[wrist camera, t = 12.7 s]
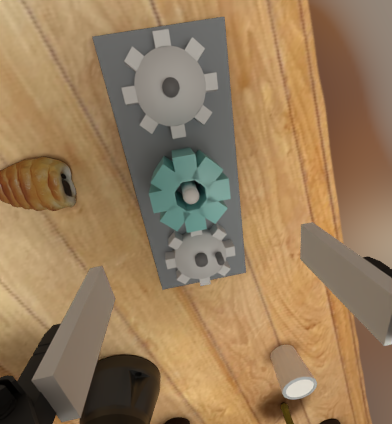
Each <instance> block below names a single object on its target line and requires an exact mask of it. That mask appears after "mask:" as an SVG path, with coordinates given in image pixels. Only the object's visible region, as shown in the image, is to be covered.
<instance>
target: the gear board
mask: <svg viewBox="0 0 392 424" xmlns="http://www.w3.org/2000/svg"><path fill="white" fill-rule="evenodd" d="M93 41H94V45H95V48H96V52H97V55H98V59H99V63H100V66H101V70H102V73H103V77H104V81H105V84H106V88H107V91H108V95H109V99H110V102H111V106H112V109H113V113H114V117H115V120H116V124H117V127H118V131H119V135H120V138H121V142H122V145H123V149H124V153H125V156H126V160H127V163H128V167H129V170H130V174H131V178H132V181H133V185H134V188H135V192H136V196H137V199H138V203H139V206H140V210H141V214H142V217H143V221H144V224H145V228H146V232H147V235H148V239H149V242H150V246H151V250H152V253H153V257H154V260H155V264H156V268H157V271H158V275H159V278H160V282H161V286H162V289H168V288H173V287H178V286H183V285H188V284H193V283H198V282H200V285H201V286H204V285H208V284H211V282H210V280H212V279H217V278H222V277H227V276H232V275H237V274H242V273H246V267H245V255H244V243H243V231H242V220H241V208H240V196H239V184H238V172H237V160H236V148H235V137H234V125H233V113H232V101H231V89H230V77H229V66H228V54H227V42H226V30H225V18H224V17H219V18H212V19H205V20H199V21H192V22H186V23H179V24H173V25H166V26H160V27H153V28H147V29H140V30H134V31H127V32H120V33H114V34H107V35H101V36H94V37H93ZM189 147H190V148H191V149H192V150H193V152H194V153H195V154H196V153H197V151H198V150H200V151H202V152H203V153H204V154H206V155H207V156H208V157H210V158H211V159H212V160H214V161H215V162H216V163H217V164H218V165H219V166H220V167H221V168H223V169H224V170H223V171H222V172H223V173H224V174H225V175H226V176H227V177H228V178H229V186H230V196H231V199H228V200H223V202H224V203H225V205H226V206H227V208H228V209H227V210H226V211H225V213H224V214H223V215H222V216H221V218H220V219H219V220H218V221H217V223H216V224H214V223H213V222H211V221H210V220H208V219H206V218H205V220H206V226H207V229H205V230H200V231H194V232H189V233H187V231H186V226H185V222H184V223H183V225H182V226H181V227H180V229H179V230H178V231H176V230H174V229H172V228H171V227H169V226H167V225H165V224H164V223H162V222H160V213H161V212H159V213H154V212H153V208H152V204H151V200H150V197H149V190H150V186H151V179H152V176H153V172H154V170H155V168H156V167H157V165H158V164H159V162H160V161H161V159H162V158H163V156H165V157H167V158H168V159H170V160H171V161H173V160H172V150H177V149H183V148H189ZM199 185H200V183H198V182H197V181H195V180H193V181H187V182H182V183H181V184H180V186H179V187H178V189H177V191H179V192H180V193H182V194H183V199H184V201H185V202H186V203H188V204H194V203H196V202H197V201H198V199H199V192H198V190H197V188H198V187H199Z"/></svg>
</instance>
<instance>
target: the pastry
mask: <svg viewBox="0 0 392 424" xmlns="http://www.w3.org/2000/svg"><path fill="white" fill-rule="evenodd" d="M75 195H76V189H75V187H74V184H73V182H72V180H71V171H70V168H69V167H68V166H67V165H66V164H65V163H64V162H62V161H59V160H56V159H52V158H48V157H40V158H36V159H29V160H23V161H21V162H18V163H15V164H13V165H11V166H9V167H7V168H5V169H3V170H1V171H0V200H1V201H3V202H5V203H8V204H11V205H12V206H14V207H23V208H24V209H34V210H36V211H41V210H45V209H49V210H51V211H56V210H59V209H62V208H64V207H73V206H74V205H75V203H76V197H75Z"/></svg>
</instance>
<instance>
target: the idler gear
mask: <svg viewBox="0 0 392 424" xmlns="http://www.w3.org/2000/svg"><path fill="white" fill-rule="evenodd" d="M172 160H173V161H171V160H170V159H168V158H167V157H165V156H163V158H162V159H161V161H160V162H159V164H158V165H157V167H156V168H155V170H154V172H153V176H152V179H151V186H150V190H149V197H150V200H151V204H152V208H153V212H154V213H159V212H161V213H160V222H162V223H164V224H165V225H167V226H169V227H171V228H172V229H174V230H176V231H178V230H179V229H180V227H181V226H182V225H183V223H184V222H185V226H186V231H187V233H189V232H194V231H200V230H205V229H207V226H206V220H205V218H206V219H208V220H210V221H211V222H213V223H214V224H216V223H217V221H218V220H219V219H220V218H221V216H222V215H223V214H224V213H225V211H226V210H227V209H228V208H227V206H226V205H225V203H224V202H223V200H228V199H231V196H230V186H229V178H228V177H227V176H226V175H225V174H224V173H223V172H222V171H223V170H224V169H223V168H221V167H220V166H219V165H218V164H217V163H216V162H215V161H214V160H212V159H211V158H210V157H208V156H207V155H206V154H204V153H203V152H202V151H200V150H198V151H197V153H196V154H195V153H194V152H193V150H192V149H191V148H190V147H189V148H183V149H177V150H172ZM193 180H195V181H197V182H198V183H200V185H199V187H198V188H197V190H198V192H199V199H198V201H197V202H196V203H194V204H188V203H186V202H185V201H184V199H183V194H182V193H180V192H179V191H177V189H178V187H179V186H180V184H181V183H182V182H187V181H193Z"/></svg>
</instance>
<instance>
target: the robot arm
mask: <svg viewBox="0 0 392 424" xmlns="http://www.w3.org/2000/svg"><path fill="white" fill-rule="evenodd" d="M300 259H301V260H302V261H303V262H304V263H305V264H306V265H307V267H308V268H309V269H310V270H311V271H312V272H313V273H314V274H315V275H316V276H317V277H318V278H319V279H320V280H321V281H322V282H323V283H324V284H325V285H326V286H327V287H328V288H329V289H330V290H331V292H332V293H333V294H334V295H335V296H336V297H337V298H338V299H339V300H340V301H341V302H342V303H343V304H344V305H345V306H346V307H347V308H348V309H349V310H350V311H351V312H352V313H353V314H354V315H355V316H356V317H357V319H358V320H359V321H360V322H361V323H362V324H363V325H364V326H365V327H366V328H367V329H368V330H369V331H370V332H371V333H372V334H373V335H374V336H375V337H376V338H377V339H378V340H379V341H380V342H381V343H382V344H383V346H386V345H390V344H392V269H390V268H389V267H388V266H386V265H385V264H383V263H382V262H380V261H378V260H376V259H373V258H370V257H363V258H362V257H361V256H360V255H358V254H357V253H355V252H354V251H352V250H351V249H350V248H348V247H347V246H345V245H344V244H342V243H341V242H340V241H338V240H337V239H335V238H334V237H332V236H331V235H330V234H328V233H327V232H325V231H324V230H323V229H321V228H320V227H318V226H317V225H315V224H314V223H313V222H312V223H307V224H302V225H301V256H300ZM114 302H115V296H114V294H113V291H112V289H111V286H110V284H109V281H108V279H107V276H106V274H105V271H104V269H103V266H99V267H94V268H90V269H89V271H88V273H87V275H86V277H85V279H84V281H83V283H82V285H81V287H80V289H79V290H78V292H77V294H76V296H75V298H74V300H73V302H72V304H71V306H70V308H69V310H68V311H67V313H66V315H65V317H64V319H63V321H62V323H61V324H57V325H53V326H52V327H51V328H50V329H49V330H48V331H47V333H46V334H45V335H44V336H43V338H42V340H41V341H40V343H39V345H38V348H36V350H35V352H34V353H33V356H32V357H31V359H30V360H29V362H28V364H27V366H26V367H25V369H24V371H23V373H22V374H21V376H20V378H19V379H18V381H16V380H15V378H14V377H13V376H4V377H1V378H0V424H53V421H54V418H55V416H56V415H57V416H58V418H59V419H60V420H61V422H64V421H69V420H73V419H77V418H80V424H150V421H151V418H152V414H153V411H154V408H155V405H156V402H157V399H158V395H159V392H160V373H159V371H158V369H157V367H156V366H155V365H154V364H152V363H151V362H149V361H148V360H146V359H143V358H140V357H136V356H128V355H121V356H113V357H109V358H106V359H103V360H101V361H99V362H97V360H98V357H99V353H100V350H101V346H102V343H103V340H104V336H105V333H106V329H107V326H108V322H109V319H110V316H111V312H112V309H113V305H114Z"/></svg>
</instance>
